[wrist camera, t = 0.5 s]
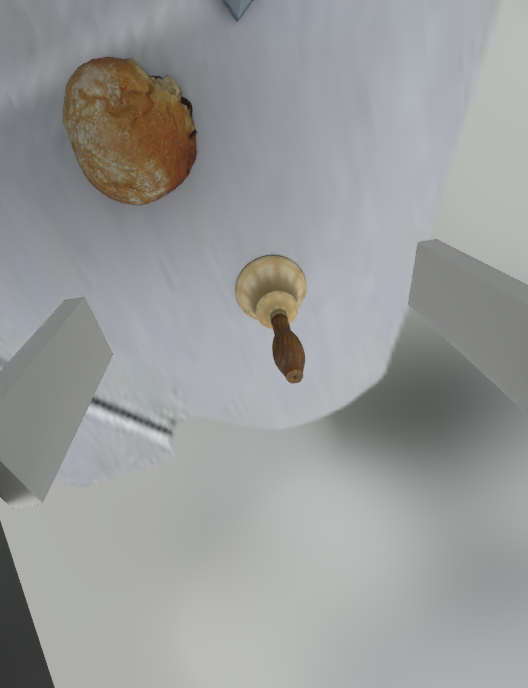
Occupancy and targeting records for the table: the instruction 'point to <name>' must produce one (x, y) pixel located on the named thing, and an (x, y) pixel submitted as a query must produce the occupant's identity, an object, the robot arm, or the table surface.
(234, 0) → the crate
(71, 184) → the table surface
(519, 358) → the robot arm
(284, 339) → the hand bell
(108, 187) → the bread roll
